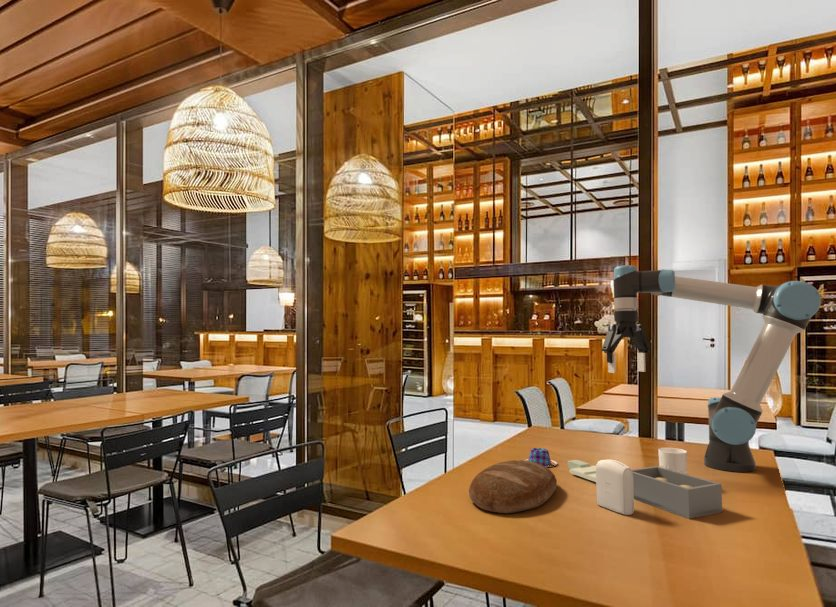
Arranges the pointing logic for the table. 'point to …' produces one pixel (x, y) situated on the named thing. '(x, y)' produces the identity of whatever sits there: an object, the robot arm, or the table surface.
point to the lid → (582, 469)
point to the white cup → (673, 459)
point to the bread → (512, 486)
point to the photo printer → (615, 486)
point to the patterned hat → (540, 456)
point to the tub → (677, 492)
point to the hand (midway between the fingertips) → (627, 372)
